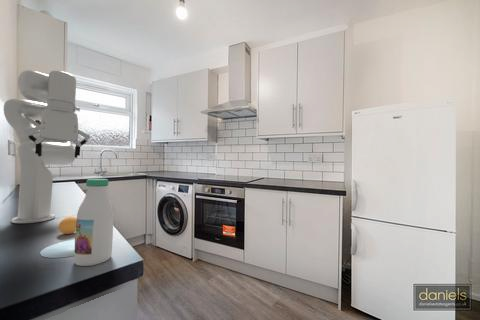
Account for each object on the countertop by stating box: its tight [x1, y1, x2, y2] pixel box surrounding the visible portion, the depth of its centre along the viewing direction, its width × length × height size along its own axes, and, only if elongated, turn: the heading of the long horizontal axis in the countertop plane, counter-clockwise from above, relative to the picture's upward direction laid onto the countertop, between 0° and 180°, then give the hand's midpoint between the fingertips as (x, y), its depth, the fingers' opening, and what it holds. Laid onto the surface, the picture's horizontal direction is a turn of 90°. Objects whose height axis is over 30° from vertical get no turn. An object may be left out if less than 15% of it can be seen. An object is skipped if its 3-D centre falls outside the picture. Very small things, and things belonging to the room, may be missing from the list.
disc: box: [39, 239, 75, 259], centre depth 59 cm, size 13×13×1 cm
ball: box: [58, 216, 77, 235], centre depth 71 cm, size 6×6×6 cm
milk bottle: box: [73, 178, 114, 267], centre depth 53 cm, size 8×8×20 cm
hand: (58, 157), depth 74 cm, fingers open, 9 cm apart
